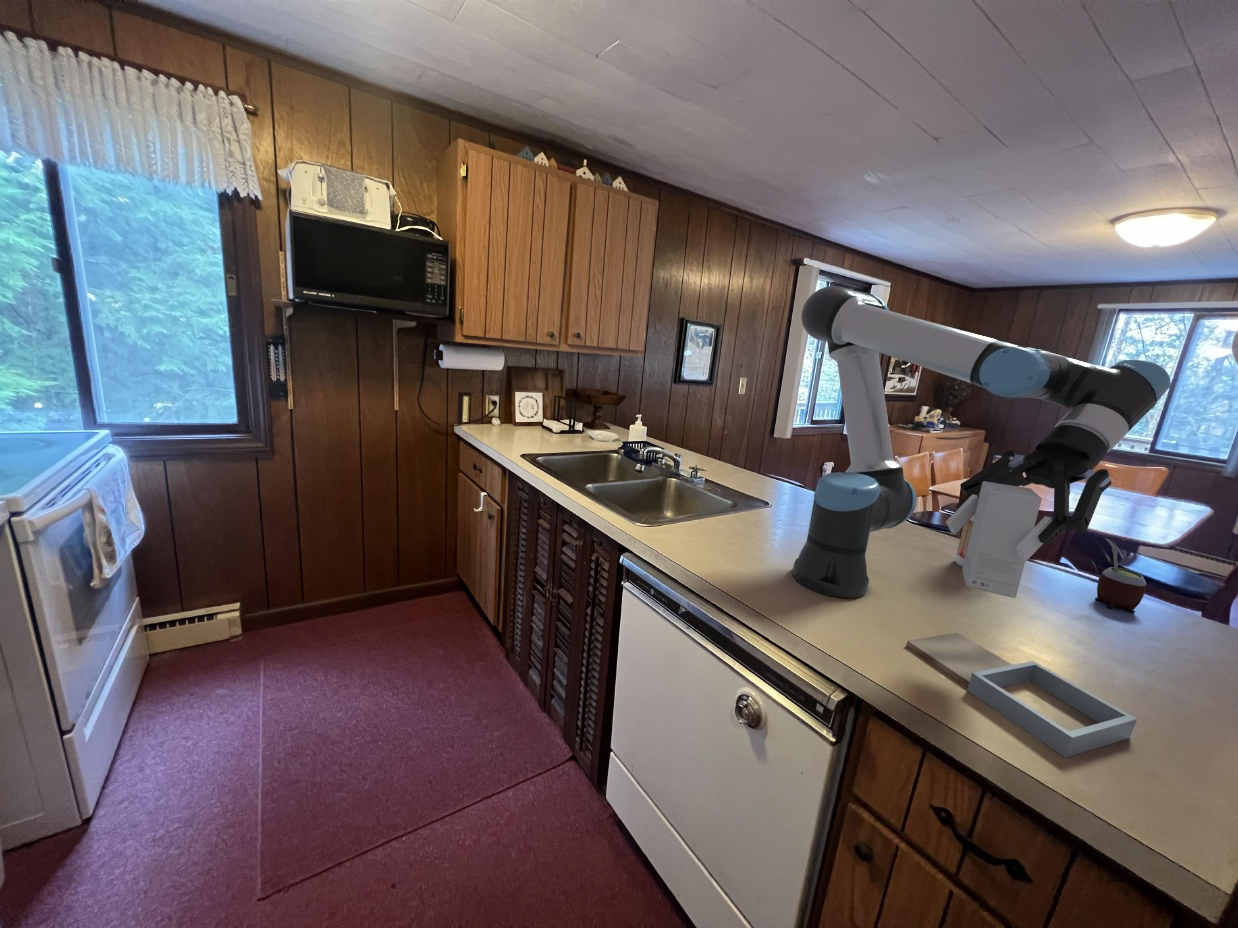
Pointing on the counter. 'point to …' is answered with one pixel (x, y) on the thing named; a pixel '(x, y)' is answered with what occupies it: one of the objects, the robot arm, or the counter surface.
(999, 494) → the skincare box
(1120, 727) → the bin
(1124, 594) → the mate gourd
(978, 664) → the coaster
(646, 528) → the counter surface
